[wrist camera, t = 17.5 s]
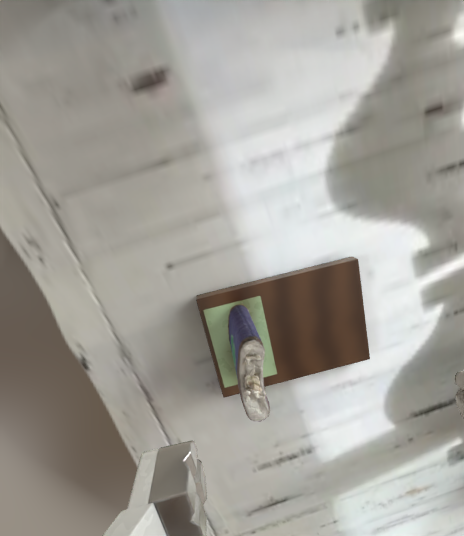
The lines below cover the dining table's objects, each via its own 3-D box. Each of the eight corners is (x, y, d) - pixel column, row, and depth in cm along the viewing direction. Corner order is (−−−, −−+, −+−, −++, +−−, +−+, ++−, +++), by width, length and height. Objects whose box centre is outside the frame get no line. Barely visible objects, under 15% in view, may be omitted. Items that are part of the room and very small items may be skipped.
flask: (256, 369, 37) (276, 436, 27) (233, 372, 37) (244, 441, 27) (248, 301, 35) (267, 346, 25) (224, 305, 35) (233, 351, 24)
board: (352, 256, 37) (358, 259, 35) (364, 353, 40) (370, 359, 39) (196, 295, 36) (196, 299, 34) (222, 390, 39) (223, 398, 38)
